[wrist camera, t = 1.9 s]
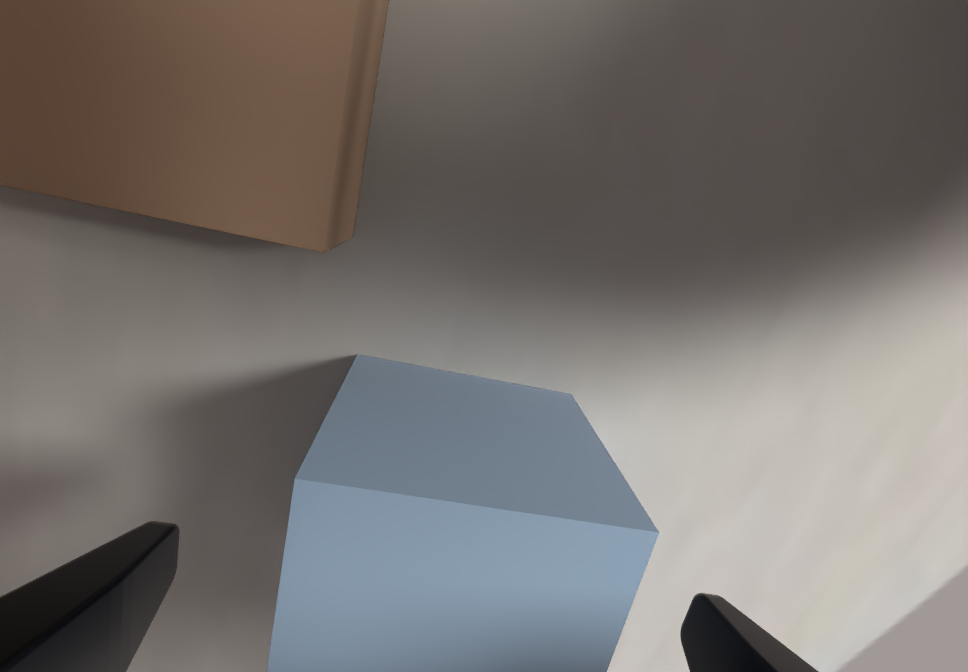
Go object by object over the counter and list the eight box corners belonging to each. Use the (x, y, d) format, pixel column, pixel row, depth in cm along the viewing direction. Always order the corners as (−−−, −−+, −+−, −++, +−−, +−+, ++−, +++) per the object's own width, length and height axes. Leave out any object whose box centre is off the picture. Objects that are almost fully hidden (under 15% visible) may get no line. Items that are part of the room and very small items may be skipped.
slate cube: (570, 392, 12) (658, 532, 7) (518, 566, 13) (563, 783, 8) (358, 353, 11) (294, 478, 6) (326, 540, 12) (253, 762, 8)
